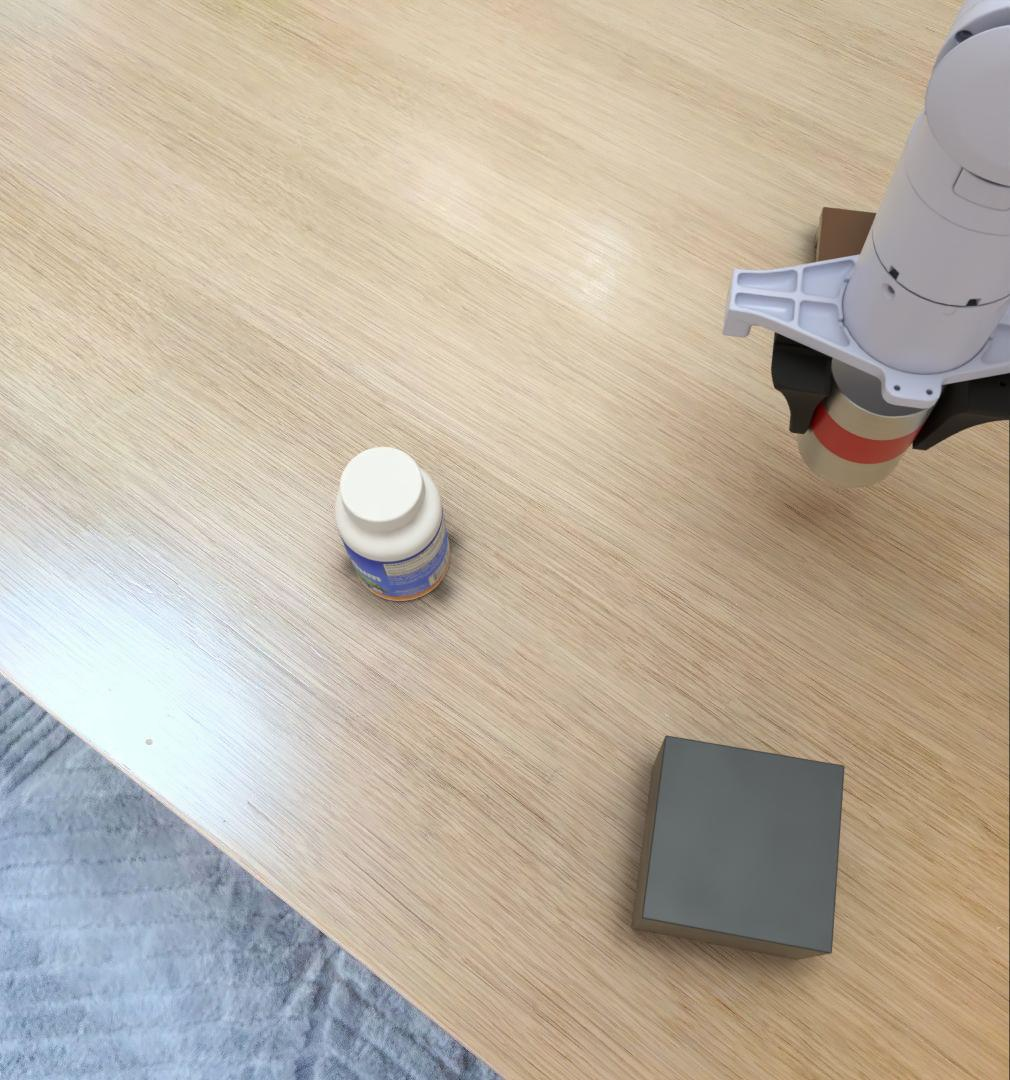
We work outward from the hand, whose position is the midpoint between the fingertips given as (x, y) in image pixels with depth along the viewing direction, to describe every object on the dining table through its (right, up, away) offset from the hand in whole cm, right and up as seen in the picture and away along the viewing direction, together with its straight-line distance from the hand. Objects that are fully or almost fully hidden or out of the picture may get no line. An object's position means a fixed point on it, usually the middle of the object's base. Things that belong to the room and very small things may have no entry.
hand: (857, 422), depth 52 cm
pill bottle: (-22, -7, +10) cm, 25 cm away
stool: (+5, +10, +15) cm, 19 cm away
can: (0, -1, +2) cm, 2 cm away
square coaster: (-6, -21, +3) cm, 22 cm away
